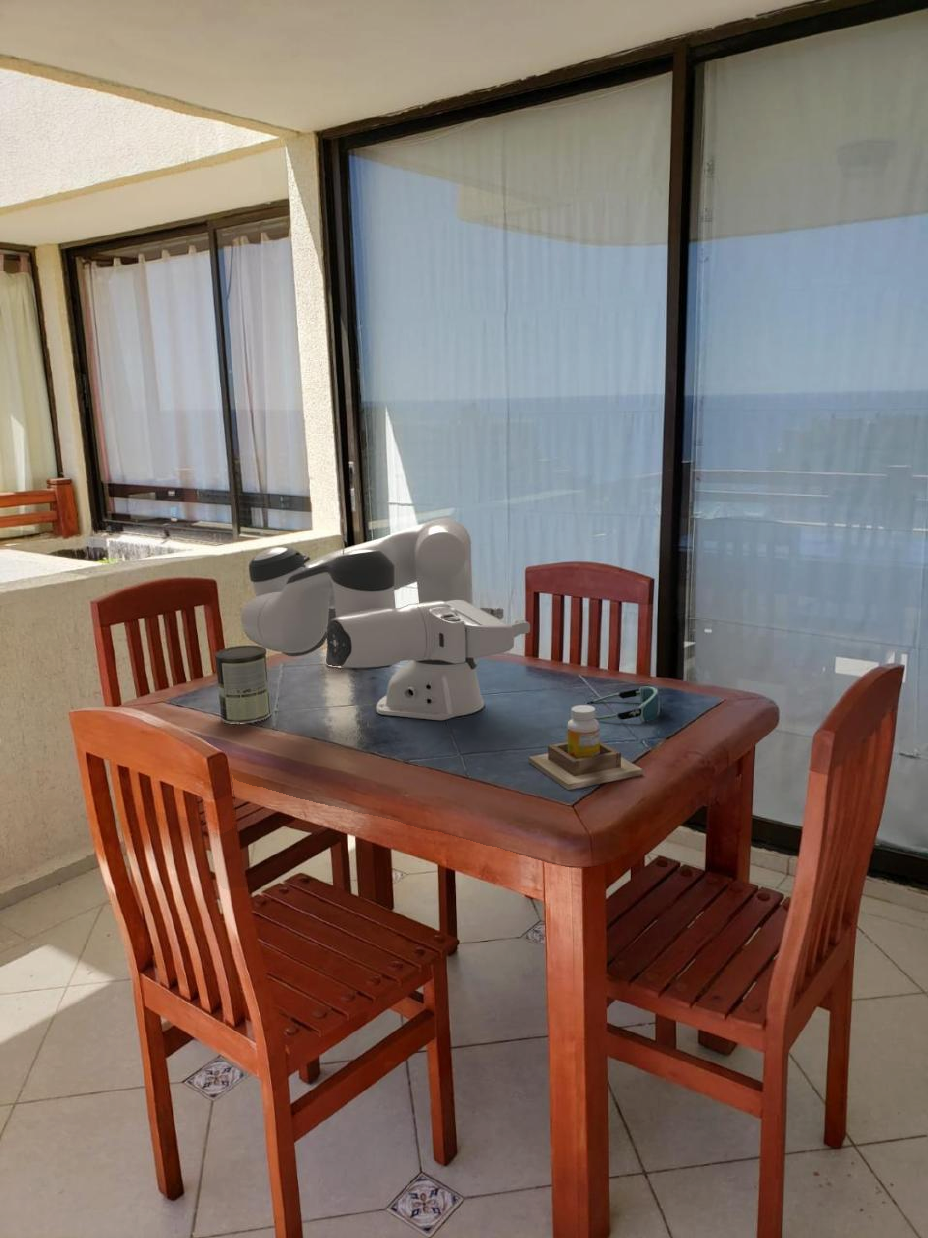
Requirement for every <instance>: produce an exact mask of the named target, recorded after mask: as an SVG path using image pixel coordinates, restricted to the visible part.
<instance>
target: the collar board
mask: <svg viewBox="0 0 928 1238" xmlns="http://www.w3.org/2000/svg"><path fill="white" fill-rule="evenodd" d="M528 764H530V765H532V766H533V767H534V768H536V769H537V770H539V771H540V772H541V773H543V774H544V775H546V776H547V777H549V778H551V779H552V780H553V781H555V782H556V783H557V784H558V785H560V786H561V787H563V788H565V789H566V790H567V791H571V790H577V789H581V788H586V787H591V786H595V785H596V786H597V785H600V784H604V783H609V782H615V781H620V780H623V779H624V780H625V779H628V778H634V777H639V776H642V775H643V768H641V767H639V766H637V765H636V764H634V763H632V762H630V761H628V760H627V759H625V758H624V757H622V752H620V751H618V750H617V749H615V748H614V747H612V746H610V745H608V744H607V743H605V742H603V741H601V740H600V755H595V756H590V757H585V758H579V759H575V758H574V757H572V756H570V755H569V754H568V741H564V742H560V743H559V742H558V743H554V744H548V745H547V753H543V754H538V755H531V756H528Z"/></svg>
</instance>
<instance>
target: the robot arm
mask: <svg viewBox="0 0 928 1238" xmlns="http://www.w3.org/2000/svg"><path fill="white" fill-rule="evenodd" d="M310 560H311V557H310V556H309V555H303V554H302V553H301V552H300V551H299V550H297V549H294V548H292V547H289V546H284V547H281V546H276V547H274V546H273V547H271V548H270V547H269V548H268V549H265V550H263V551H261V552H260V553H259V554H257V555H256V556H254V557H253V558H252V559H251V561H250V563H249V565H248V572H249V579H250V581H251V582H252V585H253V589H254V593H255V597H253V598H252V599H250V600H249V601H248V602H247V603H246V604H245V606H244V607H243V609H242V612H241V617H240V622H241V624H240V625H241V628H242V630H243V631H242V632H244V635H246V637H247V638H248V640H250V641H252V642H253V643H254V644H256V645H257V646H260V647H263V648H265V649H266V650H267V649H268V650H271V651H274V652H280V653H281V654H282V655H283V654H284V655H285V656H288V657H300V656H301V657H302V656H306V655H308V654H312V653H313V652H315V651H316V650H318V649H319V648H321V647H322V646H323V645H324V644H325V641H326V644H327V646H328V650H329V653H330V655H331V658H332V659H333V661H334V662H335V663H336V664H337V665H338V666H341V667H349V668H356V669H357V670H360V671H372V670H381V669H387V668H390V667H392V665H396V664H398V663H400V662H404V661H408V663H406V664H405V665H403V666H402V667H401V668H400V669H399V670H398V671H396V672H395V673H394V674H393V675H392V676H391V678H390V679H389V681H388V684H387V690H386V695H384V696H383V697H381V698H380V699H379V700H378V702H377V703H376V707H375V708H376V713H377V714H379V715H384V716H395V717H402V718H403V717H406V718H413V719H425V720H433V721H445V720H449V719H452V718H456V717H459V716H465V715H470V714H473V713H477V712H478V711H480V710H482V709H483V708H484V706H485V702H484V699H483V696H482V692H481V689H480V685H479V679H478V673H477V666H478V658H482V657H483V658H485V657H489V656H493V655H497V654H499V655H500V654H502V653H506V652H509V651H511V650H512V649H513V648H514V647H515V638H516V637H518V636H520V635H524V634H528V633H530V631H531V624H530V623H531V622H529V621H526V620H525V619H523V620H522V619H521V620H515V622H513V623H510V622H509V623H508V622H505V621H503V618H504V609H503V608H501V606H500V607H499V606H494V607H493V606H492V607H488V606H475V605H474V598H473V597H474V596H473V581H472V580H473V577H472V576H473V575H472V542H471V536H470V534H469V532H468V529H466V527H465V526H464V525H463V524H462V523H461V522H460V521H457V520H456V519H453V518H446V517H440V518H437V519H434V520H429V521H427V522H424V523H421V524H418V525H415V526H411V527H409V528H406V529H403V530H400V531H397V532H394V533H391V534H388V535H386V536H385V535H384V536H383V537H380V538H376V539H373V540H369V541H365V542H362V543H358V544H355V545H351V546H348V547H344V548H342V549H338V550H335V551H332V552H330V553H327V554H325V555H321V556H320V557H318V558H315V559H314V560H312V561H310ZM309 561H310V562H309ZM307 562H308V563H307ZM414 583H416V585H417V587H416V588H417V596H418V603H417V602H415V603H410V604H409V603H408V604H406V605H405V606H401V607H396V596H395V592H396V591H397V590H400V589H402V588H404V587H408V586H409V585H411V584H414ZM334 605H335V614H336V618H334V619H332V620H331V621H330V623H329V625H328V609H329V606H334ZM327 626H328V628H327ZM327 646H326V647H327Z"/></svg>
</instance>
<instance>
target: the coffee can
mask: <svg viewBox="0 0 928 1238" xmlns="http://www.w3.org/2000/svg"><path fill="white" fill-rule="evenodd" d="M266 654H267V648H264V647H262V646H260V645H237V646H232V647H231V646H230V647H226V648H223V649H220V650H218V651H216V652H215V653H214V658H215V659H214V660H215V668H216V676H217V685H218V687H217V688H218V697H219V707H220V720H221V719H222V720H223V721H224V722H228V723H234V724H237V723H238V724H240V723H252V722H257V721H260V722H262V721H261V720H263V721H265V720H267V719H268V718H267V717H269V716H270V714H271V715H272V712H271V711H272V710H271V701H270V691H269V690H270V689H269V680H268V666H267V655H266ZM270 717H271V716H270ZM270 717H269V718H270ZM266 718H267V719H266ZM264 719H265V720H264ZM222 720H221V721H222ZM224 722H223V723H224ZM257 723H258V722H257ZM252 724H253V723H252Z"/></svg>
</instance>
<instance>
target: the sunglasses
mask: <svg viewBox="0 0 928 1238" xmlns="http://www.w3.org/2000/svg"><path fill="white" fill-rule="evenodd" d="M658 692H659V690H658V688H656V687H653V686H640V687H639V688H636V689H632V690H626V691H622V692H616V693H612V694H610V695H609V694H608V695H606V696H603V697H599V698H597V699H594V700H592V701H589V702H587V705H589V704H597V703H600V702H603V701H606V700H611V699H614V698H618V697H620V698H622V699H629V698H634V697H635V698H636V697H638V698H639V701H640V702H641V704H640V705H639V706H638V708H635V709H632V710H627V711H623V712H618V713H613V714H610V715H603V716H595V718H594V719H595V720H597V721H605V720H612V719H616V718H618V719H620V720H622V721H623V720H628V719H633V718H639V721H640V722H641V723H646V722H645V721H647V720H650V719H652V718H654V717H655V716H657V714H660V712H661V711H660V709H661V708H660V707H661V706H660V704H661V703H660V702H661V701H660V700H659V697H658ZM657 717H658V716H657ZM654 719H655V718H654ZM652 720H653V719H652ZM650 721H651V720H650ZM647 722H648V721H647Z"/></svg>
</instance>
